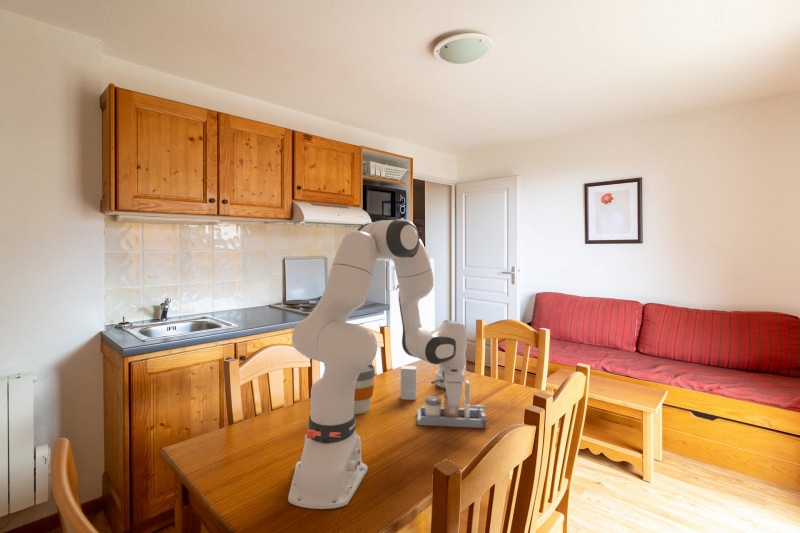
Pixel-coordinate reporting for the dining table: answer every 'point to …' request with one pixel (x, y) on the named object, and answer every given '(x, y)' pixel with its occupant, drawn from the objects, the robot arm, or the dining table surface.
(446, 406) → the pink spice shaker
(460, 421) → the blue-grey tray
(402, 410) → the dining table surface
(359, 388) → the reusable coffee cup
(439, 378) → the saucepan
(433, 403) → the cream jar
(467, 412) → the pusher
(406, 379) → the skincare box
